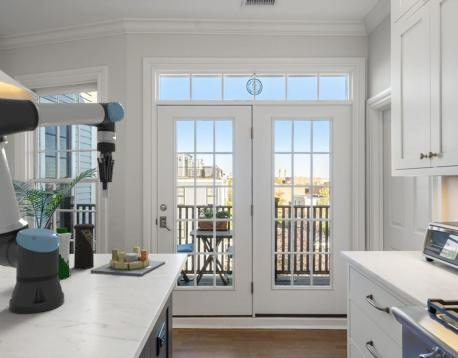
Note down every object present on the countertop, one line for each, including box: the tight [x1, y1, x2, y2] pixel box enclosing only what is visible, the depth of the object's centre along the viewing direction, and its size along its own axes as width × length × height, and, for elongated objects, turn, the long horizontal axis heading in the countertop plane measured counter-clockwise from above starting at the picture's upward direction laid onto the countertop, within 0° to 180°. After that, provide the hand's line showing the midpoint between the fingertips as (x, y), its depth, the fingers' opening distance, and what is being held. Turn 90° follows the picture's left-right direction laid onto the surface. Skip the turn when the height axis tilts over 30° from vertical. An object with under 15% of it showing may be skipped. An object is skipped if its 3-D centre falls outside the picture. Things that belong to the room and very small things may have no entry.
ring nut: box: [109, 246, 150, 269], centre depth 160 cm, size 17×17×7 cm
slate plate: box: [90, 252, 166, 277], centre depth 159 cm, size 24×24×6 cm
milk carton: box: [55, 226, 73, 281], centre depth 142 cm, size 9×9×20 cm
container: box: [73, 223, 96, 270], centre depth 161 cm, size 9×9×20 cm
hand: (105, 197), depth 149 cm, fingers closed
